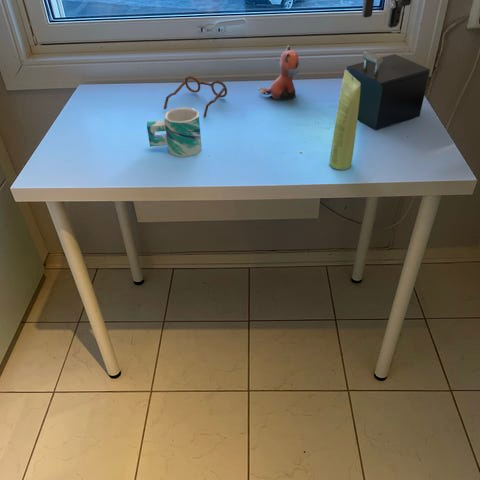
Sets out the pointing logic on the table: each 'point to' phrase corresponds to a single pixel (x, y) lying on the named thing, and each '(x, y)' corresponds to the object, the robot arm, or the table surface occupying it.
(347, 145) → the tube
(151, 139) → the mug
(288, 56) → the stuffed fox
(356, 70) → the bin lid
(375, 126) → the bin
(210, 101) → the glasses
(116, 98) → the table surface
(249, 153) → the table surface
